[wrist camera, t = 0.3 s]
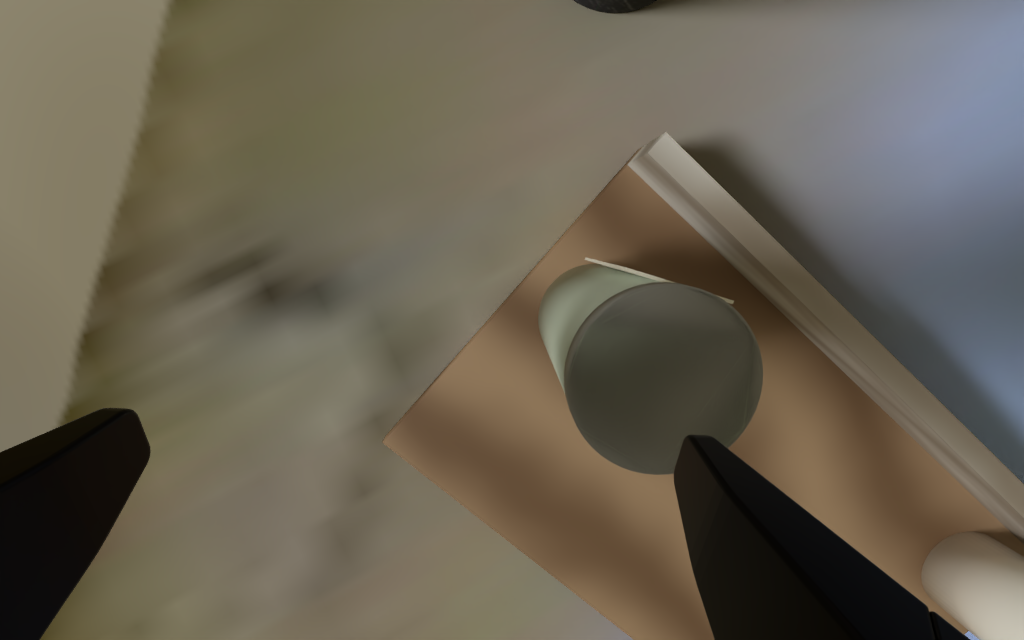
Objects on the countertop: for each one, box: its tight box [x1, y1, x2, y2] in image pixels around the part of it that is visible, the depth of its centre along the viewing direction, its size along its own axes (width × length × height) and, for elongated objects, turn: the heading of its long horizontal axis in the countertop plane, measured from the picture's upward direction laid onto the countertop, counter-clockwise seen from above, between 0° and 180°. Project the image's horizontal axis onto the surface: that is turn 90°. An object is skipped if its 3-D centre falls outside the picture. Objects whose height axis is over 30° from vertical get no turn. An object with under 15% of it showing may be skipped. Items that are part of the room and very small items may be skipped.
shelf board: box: [382, 132, 1024, 640], centre depth 23 cm, size 18×30×4 cm, turn 49°
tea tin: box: [538, 258, 763, 475], centre depth 17 cm, size 5×5×10 cm
